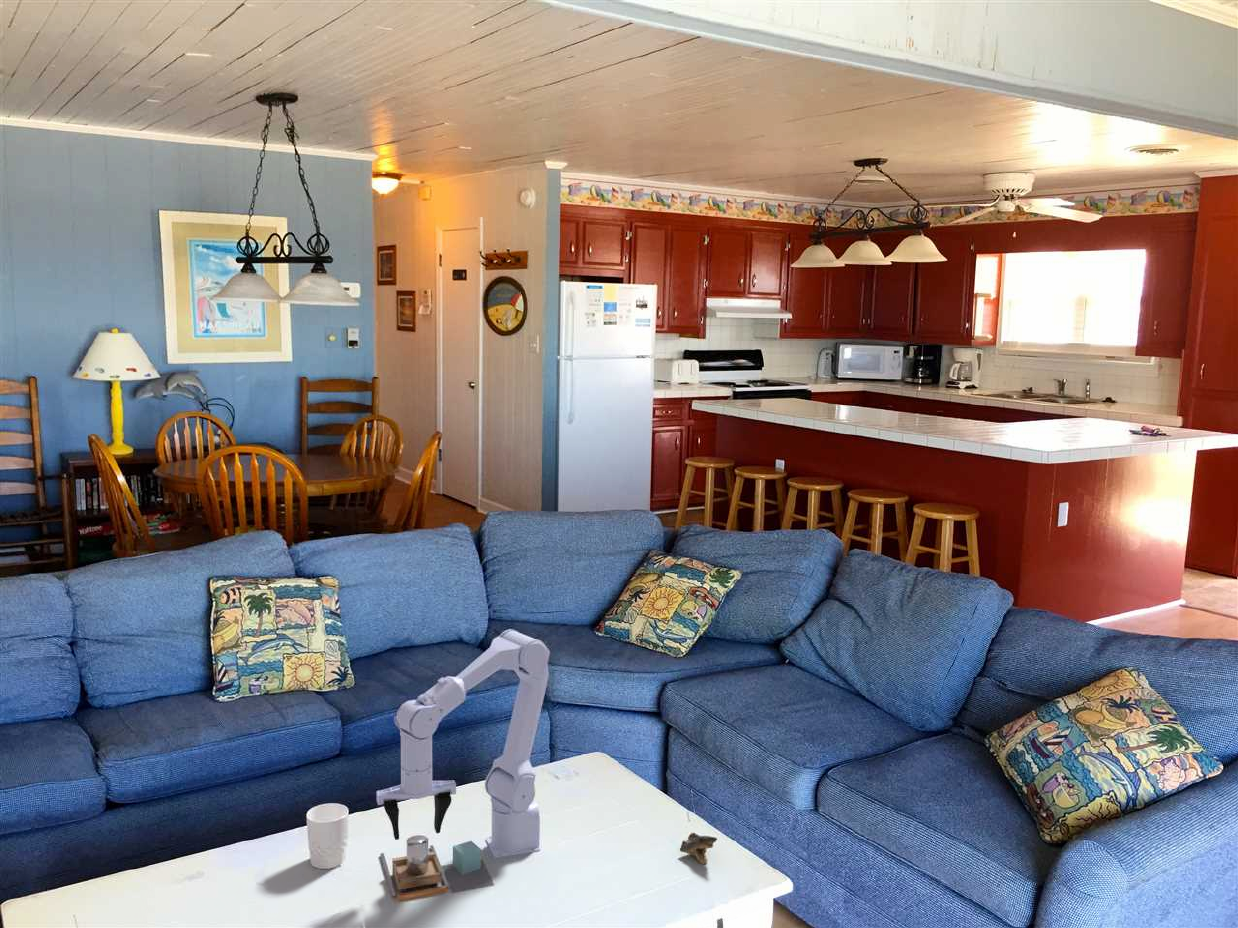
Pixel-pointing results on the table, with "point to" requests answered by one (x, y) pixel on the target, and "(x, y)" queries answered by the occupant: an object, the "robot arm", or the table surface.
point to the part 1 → (417, 855)
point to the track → (420, 892)
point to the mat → (467, 878)
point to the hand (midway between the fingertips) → (416, 833)
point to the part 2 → (466, 857)
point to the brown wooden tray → (413, 881)
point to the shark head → (697, 846)
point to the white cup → (327, 835)
